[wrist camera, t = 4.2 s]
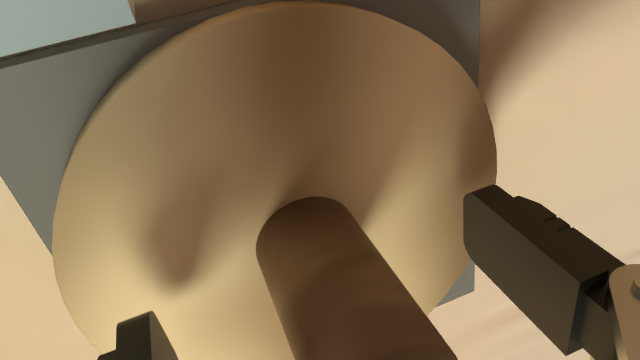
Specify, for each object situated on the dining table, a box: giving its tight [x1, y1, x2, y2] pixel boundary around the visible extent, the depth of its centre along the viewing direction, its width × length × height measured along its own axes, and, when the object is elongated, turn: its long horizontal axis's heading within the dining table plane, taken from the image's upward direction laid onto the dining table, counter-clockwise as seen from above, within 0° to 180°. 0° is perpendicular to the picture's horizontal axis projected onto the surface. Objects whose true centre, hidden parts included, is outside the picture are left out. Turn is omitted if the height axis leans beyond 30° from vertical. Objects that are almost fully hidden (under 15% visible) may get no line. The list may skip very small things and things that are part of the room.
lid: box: [52, 0, 497, 360], centre depth 11 cm, size 12×12×6 cm
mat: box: [0, 0, 480, 307], centre depth 14 cm, size 12×12×1 cm
